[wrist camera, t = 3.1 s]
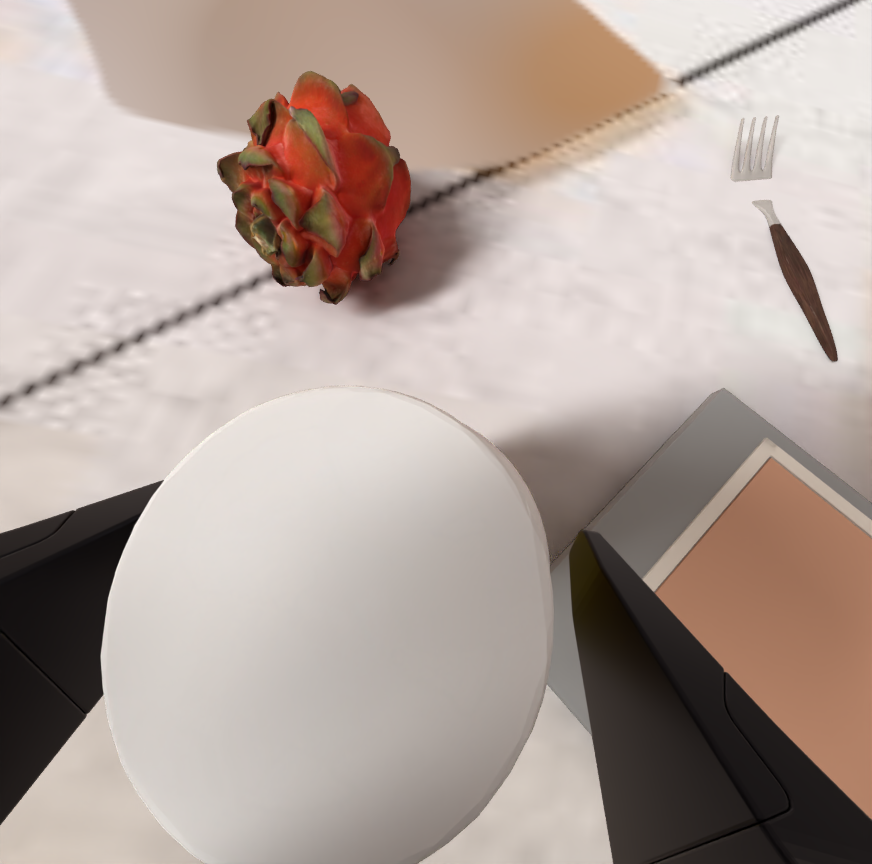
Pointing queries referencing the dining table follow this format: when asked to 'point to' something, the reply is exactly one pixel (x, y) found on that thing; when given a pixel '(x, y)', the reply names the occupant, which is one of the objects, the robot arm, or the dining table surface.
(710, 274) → the dining table surface
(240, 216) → the dragon fruit
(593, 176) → the dining table surface
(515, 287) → the dining table surface
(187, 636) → the supplement bottle
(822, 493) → the picture board
